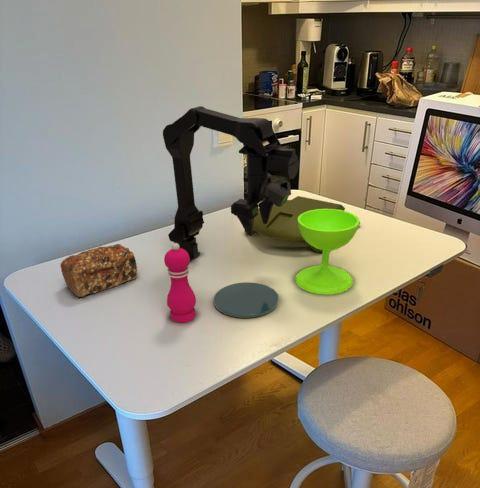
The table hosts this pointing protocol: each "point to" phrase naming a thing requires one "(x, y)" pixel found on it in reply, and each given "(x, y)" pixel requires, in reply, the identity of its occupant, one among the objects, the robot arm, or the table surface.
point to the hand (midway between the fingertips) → (257, 229)
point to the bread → (98, 269)
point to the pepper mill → (179, 285)
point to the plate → (246, 300)
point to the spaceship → (289, 218)
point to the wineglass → (326, 248)
